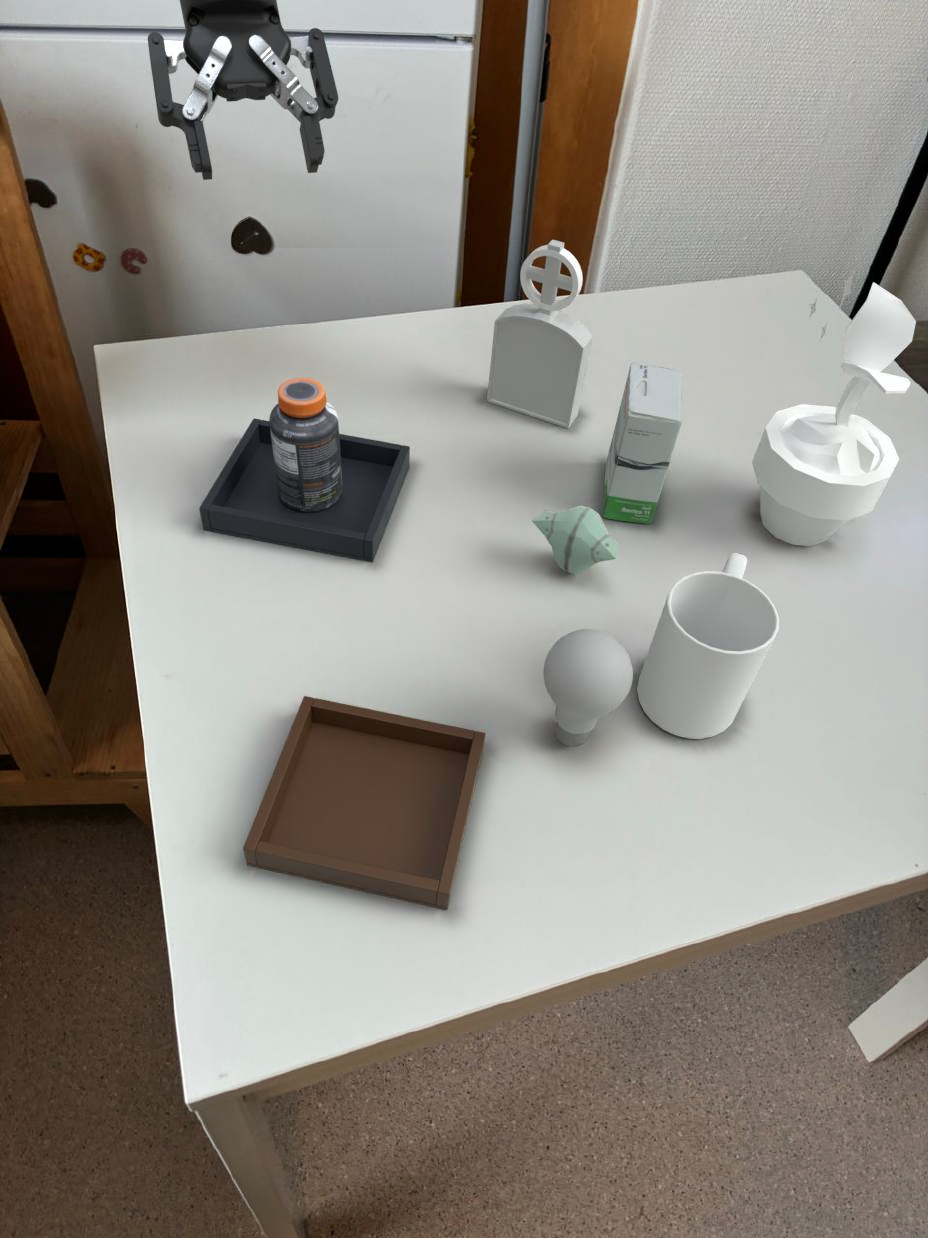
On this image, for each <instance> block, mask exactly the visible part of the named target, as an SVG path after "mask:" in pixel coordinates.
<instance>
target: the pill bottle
mask: <svg viewBox="0 0 928 1238" xmlns="http://www.w3.org/2000/svg"><path fill="white" fill-rule="evenodd" d="M277 401H278V402H277V403H276V404H275V406H274V407H273V408H272V409H271V411H270V414H269V420H268V421H269V422H270V431H271V439H272V447H273V455H274V463H275V471H276V479H277V489H278V494H279V497H280V499H281V500H282V502H284V504H286V505H287V506H289V507H291V508H293V509H296V510H299V511H307V512H311V511H319V510H323V509H326V508H328V507H330V506H332V505H333V504H334V503H336V502H337V500H338V499H339V498H340V496H341V494H342V474H341V456H340V440H339V438H340V437H339V434H340V423H339V422H340V421H339V415H338V412H337V410H336V409H335V407H334V405H332V404H331V403H330V402H329V401H328V400H327V392H326V387H325V386H324V385H323V383H321V382H320V381H319V380H317V379H315V378H311V377H296V378H295V377H294V378H291V379H288V380H286V381H284V382H282V383H281V385H279V386H278V389H277Z"/></svg>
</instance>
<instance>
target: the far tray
mask: <svg viewBox="0 0 928 1238" xmlns="http://www.w3.org/2000/svg"><path fill="white" fill-rule="evenodd" d="M339 437H340V438H339V440H340V456H341V474H342V494H341V496H340V498H339V499H338V500H337V502H336V503H334V504H333V505H332V506H330V507H328V508H326V509H323V510H319V511H311V512H307V511H299V510H296V509H293V508H291V507H289V506H287V505H286V504H284V502H282V500H281V499H280V497H279V494H278V489H277V479H276V471H275V463H274V455H273V447H272V439H271V431H270V422H269V420H265V419H260V418H253V419H252V420H251V422H250V423H249V425H248V427H247V429H246V430H245V432H244V433H243V435H242V437H241V438H240V440H239V441H238V444H237V445H236V446H235V448H234V450H233V451H232V453H231V455H230V456H229V458H228V460H227V461H226V463H225V465H224V466H223V467H222V470H221V471H220V473H219V475H218V476H217V478H216V480H215V481H214V483H213V484H212V486H211V488H210V489H209V491H208V493H207V494H206V495H205V497H204V499H203V501H202V503H201V504H200V506H199V507H198V510H199V515H200V520H201V525H202V530H203V531H208V532H211V533H216V534H217V533H218V534H223V535H228V536H233V537H238V538H243V539H247V540H248V539H249V540H253V541H259V542H263V543H264V542H265V543H270V544H275V545H278V546H279V545H280V546H285V547H291V548H296V549H301V550H306V551H311V552H316V553H322V554H327V555H333V556H338V557H343V558H347V559H353V560H358V561H363V562H367V563H369V562H370V563H374V560H375V558H376V556H377V552H378V550H379V548H380V545H381V542H382V540H383V538H384V534H385V532H386V530H387V527H388V524H389V521H390V519H391V516H392V514H393V511H394V509H395V506H396V504H397V501H398V498H399V495H400V493H401V491H402V488H403V485H404V483H405V481H406V477H407V475H408V472H409V470H410V459H411V456H410V454H411V446H409V445H406V444H405V445H404V444H400V443H399V444H398V443H394V442H388V441H381V440H376V439H372V438H365V437H360V436H355V435H349V434H344V433H343V434H342V433H339Z"/></svg>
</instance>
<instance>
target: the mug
mask: <svg viewBox="0 0 928 1238" xmlns="http://www.w3.org/2000/svg"><path fill="white" fill-rule="evenodd" d="M748 562H749V561H748V557H746V555H743V554H740V553H737V552H730V553H729V555H728V557H727V559H726V561H725V563H724V567H723V568H722V571H714V570H713V571H712V570H704V571H696V572H692V573H690V574H687V575H685V576H682V577H681V578H680V579H678V580H677V581H676V582H674V584H672V586H671V587H670V590H669V591H668V593H667V597H666V598H665V602H664V605H663V608H662V611H661V614H660V616H659V619H658V622H657V626H656V629H655V632H654V634H653V637H652V640H651V643H650V645H649V647H648V648H649V649H648V651H647V654H646V656H645V661H644V663H643V666H642V669H641V672H640V674H639V677H638V681H637V688H636V692H637V698H638V702H639V704H640V707H641V709H642V710H643V712H644V714H645V715H646V716H647V717H648V718H649V719H650V721H651V722H652V723H654V724H655V725H656V726H658V727H659V728H660V729H661V730H663V731H665V732H668V733H669V734H672V735H674V736H676V737H681V738H684V739H691V740H692V739H693V740H702V739H707V738H713V737H715V736H717V735H719V734H721V733H724V732H725V731H726V730H727V729H728V728H729V727H730V726H731V725H732V724H733V722H734V720H735V718H736V716H737V715H738V712H739V710H740V708H741V707H742V704H743V702H744V700H745V698H746V696H747V694H748V692H749V690H750V688H751V686H752V684H753V682H754V680H755V678H756V676H757V674H758V672H759V671H760V668H761V666H762V664H763V663H764V660H765V658H766V656H767V654H768V653H769V650H770V648H771V646H772V644H773V642H774V640H775V638H776V636H777V634H778V632H779V629H780V617H779V615H778V611H777V607H776V605H774V603H773V602H772V600H771V598H770V597H769V596H768V595H767V594H766V593H765V592H764V591H763V590H762V589H761V588H759V587H758V586H756V585H755V584H754V583H752V582H750V581H749V580H746V579H744V578H743V577H744V574H745V572H746V568H747V564H748Z"/></svg>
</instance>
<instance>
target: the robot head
mask: <svg viewBox="0 0 928 1238" xmlns="http://www.w3.org/2000/svg"><path fill="white" fill-rule="evenodd" d="M531 522H532V523H533V524H534V525H535V527H536V528H537V529H538V530H539V531H540V532H541V534H542V535H543V536H544V537H545V539H546V540H547V542H548V544H549V546H550V547H551V550H552V554H553V555H552V556H553V559H554V560H555V562H556V565H558V567H559V568H561V569H562V570H563V571H565V572H566V573H568V574H572V575H577V576H578V575H580V574H583V573H586V572H588V571H590V570H591V569H592V567H594V566H595V565H597V564H598V563H601V562H607V561H611V560H616V559H617V555H618V551H619V545H620V543H619V542H618V541H616V540H615V539H614V538H612V537H611V536H610V533H609V531H608V529H607V527H606V525H605V524H604V520H603V519H602V517H601V515H600V513H599V512H598V511H596V510H594V509H593V508H592V507H590V506H585V505H578V506H574V507H573V508H570V509H569V508H568V509H566V510H564V511H559V512H553V511H549V510H543V511H542V512H541V513H539V514H538V515H537V516H536V517H534V518H533V519H532V520H531Z"/></svg>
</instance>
